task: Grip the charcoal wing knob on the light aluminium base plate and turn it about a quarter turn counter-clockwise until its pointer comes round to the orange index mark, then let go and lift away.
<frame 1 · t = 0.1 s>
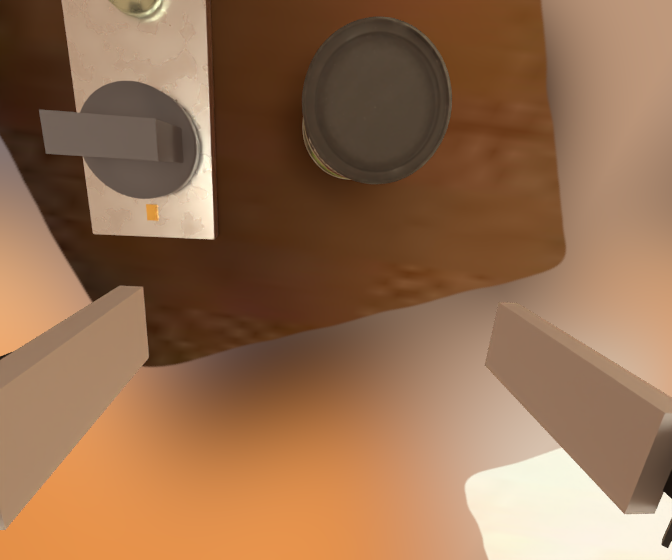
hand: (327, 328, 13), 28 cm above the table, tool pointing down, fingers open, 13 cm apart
wing knob: (126, 140, 30), point 6 cm above the table, hinge at 0.0°
base plate: (150, 91, 35), on the table
coffee can: (351, 129, 38), on the table
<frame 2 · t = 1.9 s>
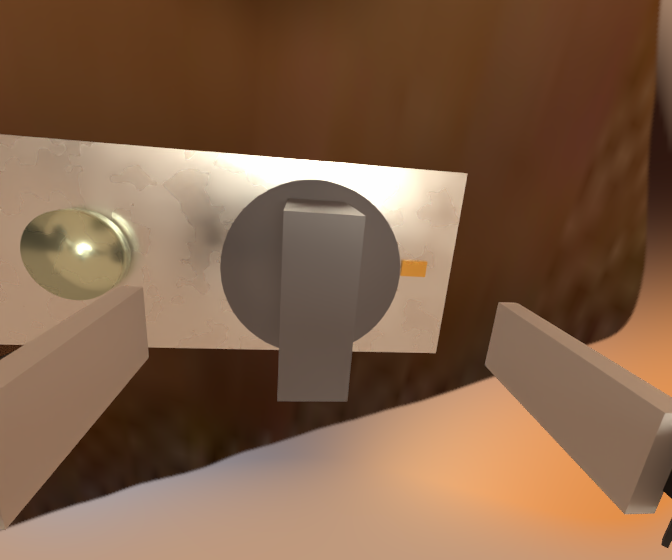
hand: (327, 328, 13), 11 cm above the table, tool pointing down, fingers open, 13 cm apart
wing knob: (314, 284, 18), point 6 cm above the table, hinge at 0.0°
base plate: (233, 251, 23), on the table
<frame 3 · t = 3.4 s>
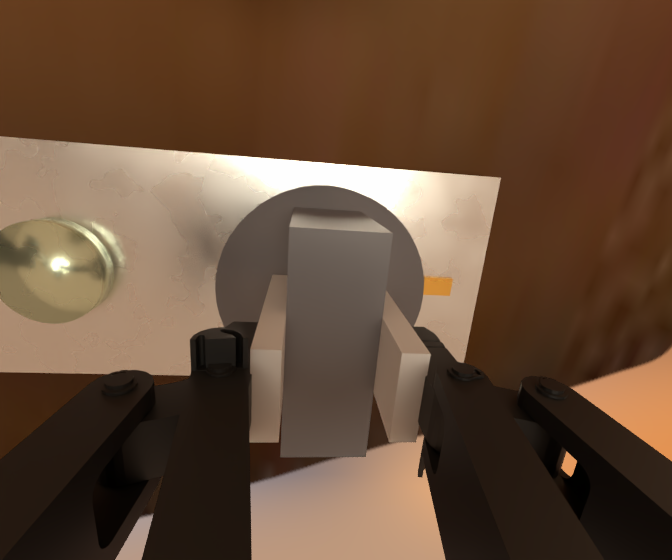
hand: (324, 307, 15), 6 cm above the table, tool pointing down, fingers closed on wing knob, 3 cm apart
wing knob: (324, 308, 15), point 6 cm above the table, hinge at 0.0°, touching gripper
base plate: (232, 266, 20), on the table
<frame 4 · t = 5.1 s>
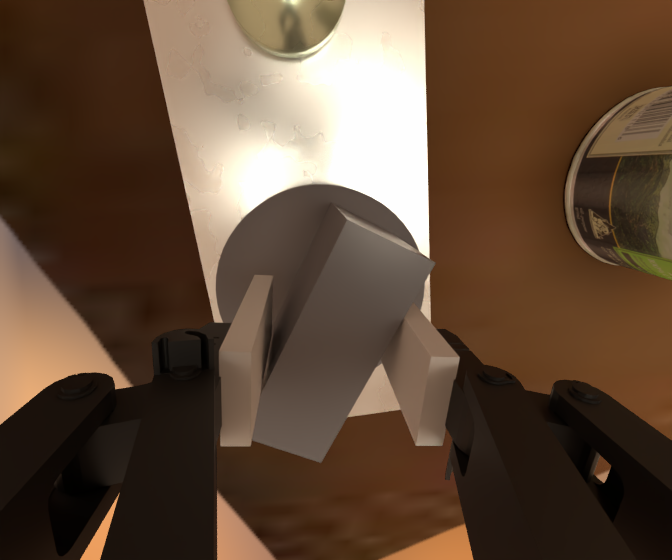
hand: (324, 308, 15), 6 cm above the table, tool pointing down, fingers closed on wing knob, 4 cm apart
wing knob: (325, 308, 15), point 6 cm above the table, hinge at 58.0°, touching gripper
base plate: (308, 182, 19), on the table
coffee can: (642, 181, 21), on the table
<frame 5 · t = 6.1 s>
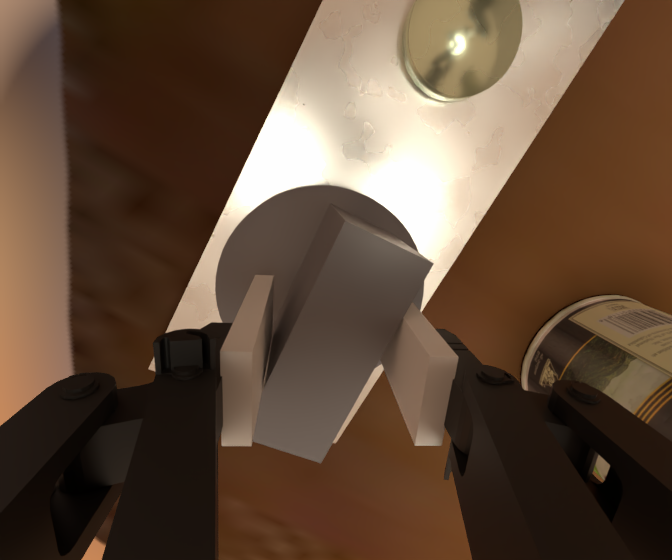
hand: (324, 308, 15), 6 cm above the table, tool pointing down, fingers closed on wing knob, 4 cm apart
wing knob: (324, 308, 15), point 6 cm above the table, hinge at 93.4°, touching gripper
base plate: (361, 194, 20), on the table
coffee can: (588, 361, 25), on the table
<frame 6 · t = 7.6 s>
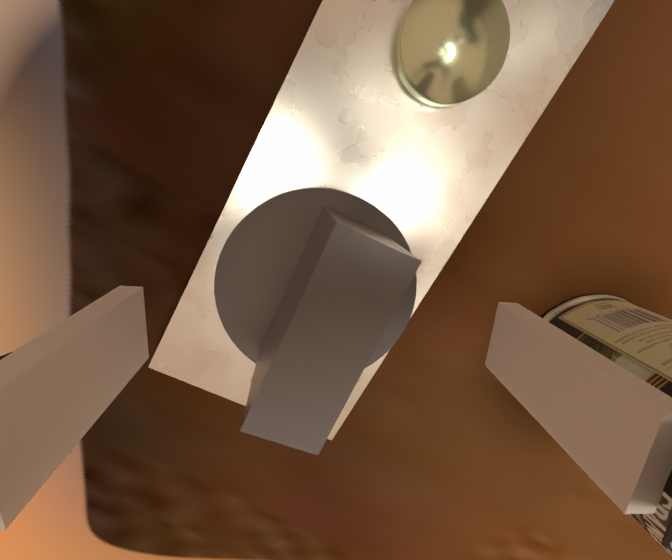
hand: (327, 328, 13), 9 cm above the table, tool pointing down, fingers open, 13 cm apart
wing knob: (320, 307, 16), point 6 cm above the table, hinge at 94.2°
base plate: (356, 197, 21), on the table
coffee can: (579, 359, 26), on the table
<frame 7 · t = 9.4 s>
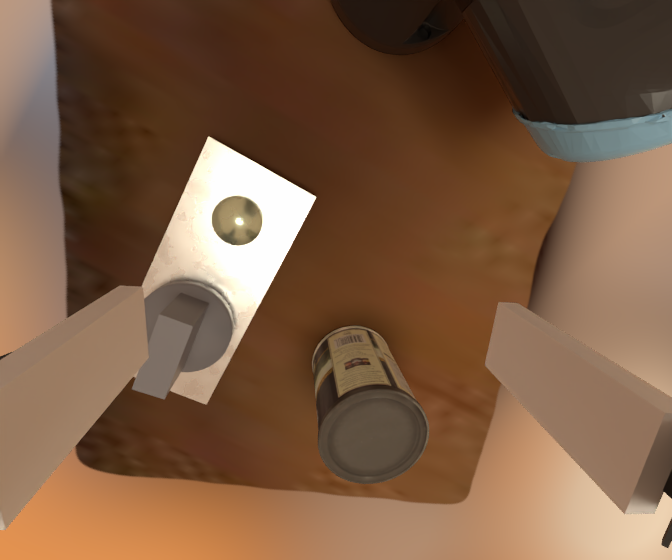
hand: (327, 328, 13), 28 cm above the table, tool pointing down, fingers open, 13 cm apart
wing knob: (176, 338, 36), point 6 cm above the table, hinge at 94.2°
base plate: (211, 279, 41), on the table
coffee can: (351, 361, 46), on the table
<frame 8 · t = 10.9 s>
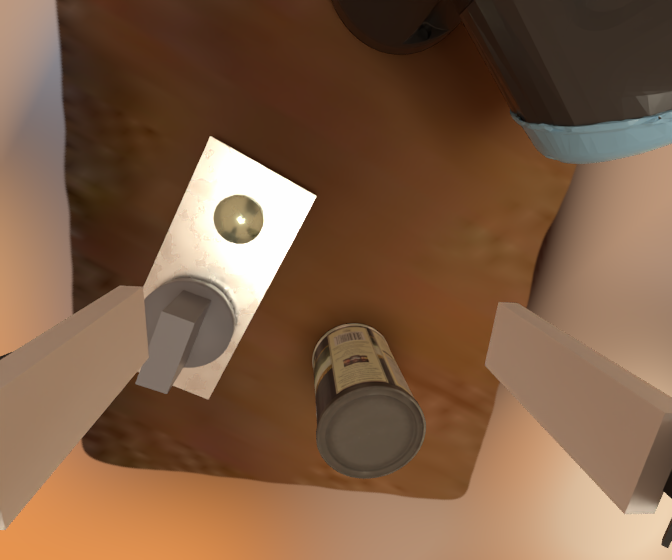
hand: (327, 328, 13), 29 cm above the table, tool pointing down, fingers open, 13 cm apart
wing knob: (179, 335, 37), point 6 cm above the table, hinge at 94.2°
base plate: (213, 277, 41), on the table
coffee can: (351, 358, 46), on the table
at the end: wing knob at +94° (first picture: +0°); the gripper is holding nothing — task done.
